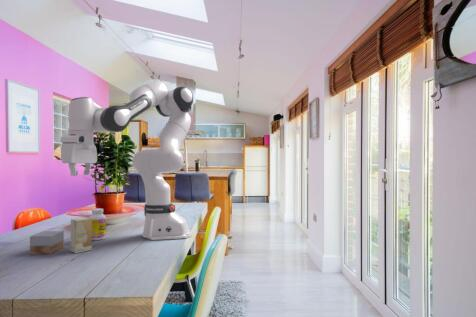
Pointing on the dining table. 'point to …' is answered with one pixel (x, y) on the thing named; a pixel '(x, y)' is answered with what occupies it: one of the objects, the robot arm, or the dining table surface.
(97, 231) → the supplement bottle
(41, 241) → the tower top
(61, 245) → the tower base
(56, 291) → the dining table surface
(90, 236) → the skincare box
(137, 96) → the robot arm
